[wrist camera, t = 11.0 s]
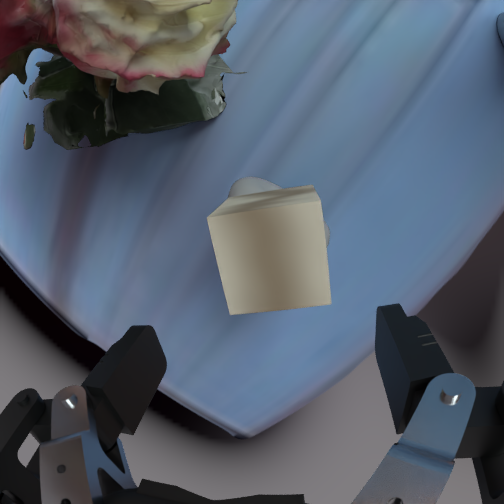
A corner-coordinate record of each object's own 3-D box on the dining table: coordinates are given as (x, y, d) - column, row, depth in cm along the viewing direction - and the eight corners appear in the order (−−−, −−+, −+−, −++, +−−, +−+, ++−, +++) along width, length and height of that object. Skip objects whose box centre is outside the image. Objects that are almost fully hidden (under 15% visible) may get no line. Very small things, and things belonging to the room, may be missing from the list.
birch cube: (312, 184, 20) (320, 200, 15) (322, 263, 22) (331, 304, 17) (228, 197, 21) (206, 217, 16) (244, 273, 23) (230, 314, 18)
